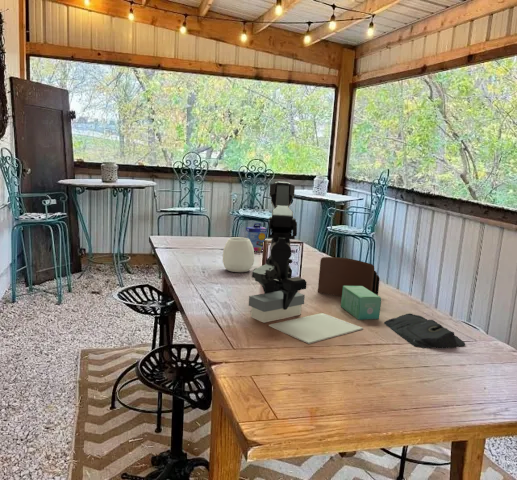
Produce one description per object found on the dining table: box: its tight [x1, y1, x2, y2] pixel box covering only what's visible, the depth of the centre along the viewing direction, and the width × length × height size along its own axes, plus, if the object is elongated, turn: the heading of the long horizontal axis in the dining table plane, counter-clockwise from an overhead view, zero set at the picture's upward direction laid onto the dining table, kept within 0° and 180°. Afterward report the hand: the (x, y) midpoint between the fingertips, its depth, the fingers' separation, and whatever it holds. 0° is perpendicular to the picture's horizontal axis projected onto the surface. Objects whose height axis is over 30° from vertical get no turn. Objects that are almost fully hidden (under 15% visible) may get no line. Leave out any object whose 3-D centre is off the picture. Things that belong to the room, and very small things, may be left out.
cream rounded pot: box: [222, 236, 255, 273], centre depth 209 cm, size 13×13×14 cm
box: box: [340, 286, 382, 321], centre depth 160 cm, size 7×14×8 cm, turn 15°
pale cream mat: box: [268, 312, 364, 345], centre depth 144 cm, size 16×22×1 cm
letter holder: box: [317, 256, 381, 298], centre depth 181 cm, size 10×20×14 cm, turn 62°
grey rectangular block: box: [248, 291, 305, 312], centre depth 152 cm, size 7×16×3 cm, turn 129°
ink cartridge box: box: [245, 223, 268, 251], centre depth 255 cm, size 10×6×14 cm, turn 112°
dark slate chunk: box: [383, 313, 466, 350], centre depth 143 cm, size 15×22×5 cm
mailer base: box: [250, 305, 302, 324], centre depth 152 cm, size 6×15×6 cm, turn 129°
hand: (276, 306), depth 152 cm, fingers closed on grey rectangular block, 7 cm apart
